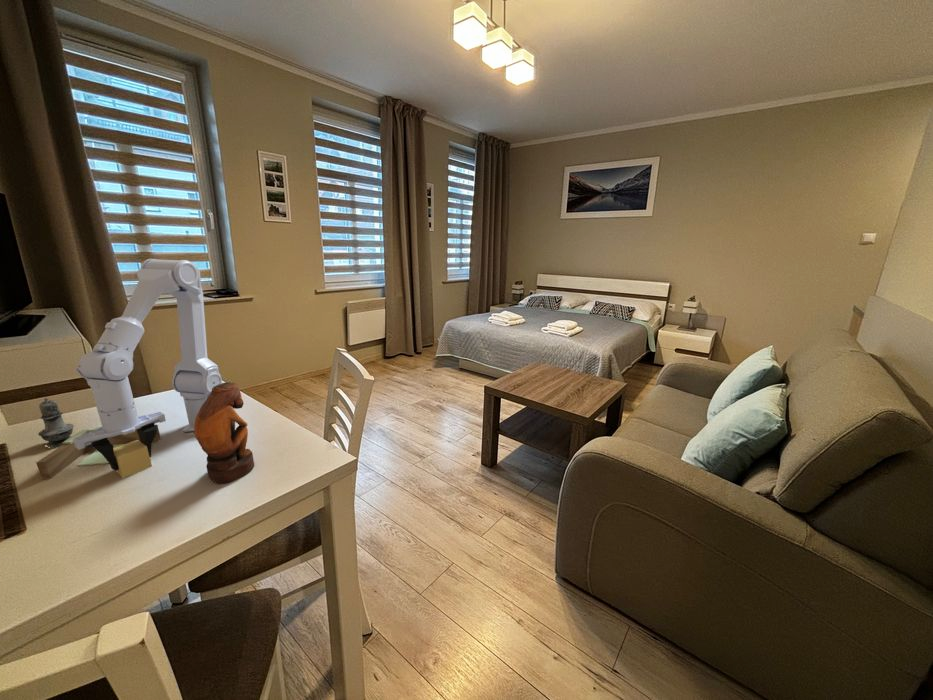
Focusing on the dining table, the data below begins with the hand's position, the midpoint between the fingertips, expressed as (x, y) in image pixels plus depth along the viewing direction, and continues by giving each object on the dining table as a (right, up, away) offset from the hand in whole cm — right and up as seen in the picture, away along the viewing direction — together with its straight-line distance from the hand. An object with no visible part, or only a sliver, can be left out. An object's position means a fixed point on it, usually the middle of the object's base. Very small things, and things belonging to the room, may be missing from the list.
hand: (131, 462), depth 81 cm
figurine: (+22, -2, +1) cm, 22 cm away
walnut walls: (-9, 0, +4) cm, 10 cm away
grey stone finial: (-26, +2, +9) cm, 28 cm away
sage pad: (-9, 0, +5) cm, 11 cm away
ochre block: (0, -1, 0) cm, 1 cm away
